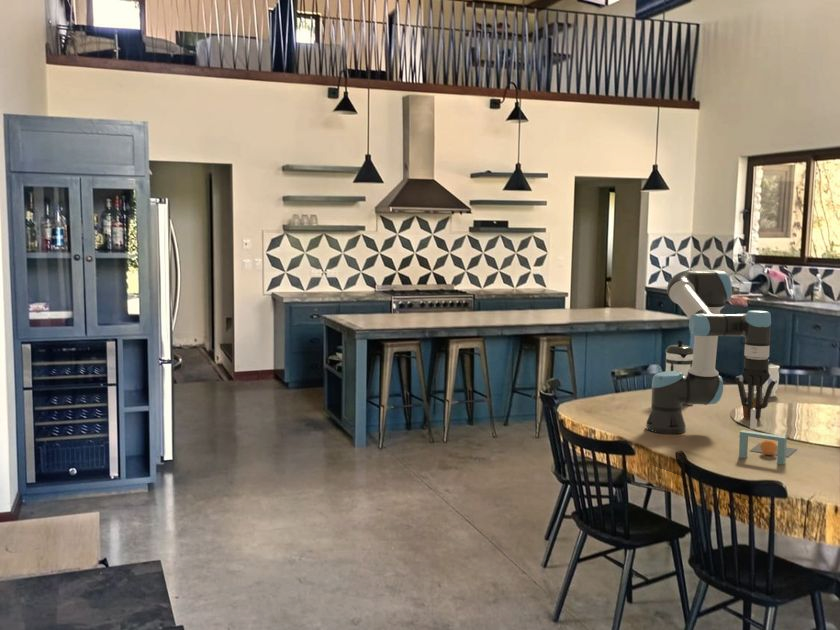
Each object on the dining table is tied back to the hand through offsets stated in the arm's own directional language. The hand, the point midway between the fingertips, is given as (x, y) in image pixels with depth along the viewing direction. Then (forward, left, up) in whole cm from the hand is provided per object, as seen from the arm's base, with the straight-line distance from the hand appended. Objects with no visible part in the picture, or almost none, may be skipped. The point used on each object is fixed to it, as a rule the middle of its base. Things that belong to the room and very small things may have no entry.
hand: (753, 427), depth 254 cm
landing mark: (0, +29, -14) cm, 32 cm away
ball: (0, +21, -11) cm, 24 cm away
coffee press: (-57, +90, -14) cm, 107 cm away
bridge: (0, +13, -14) cm, 19 cm away
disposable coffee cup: (-20, +77, -14) cm, 81 cm away
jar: (-28, +135, -14) cm, 139 cm away
